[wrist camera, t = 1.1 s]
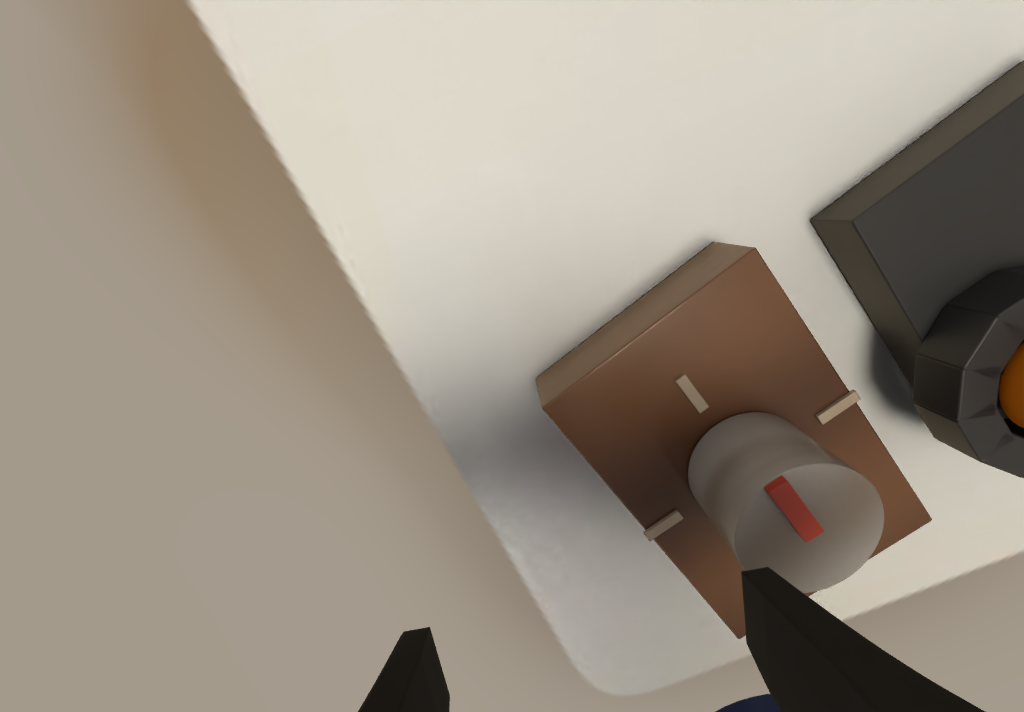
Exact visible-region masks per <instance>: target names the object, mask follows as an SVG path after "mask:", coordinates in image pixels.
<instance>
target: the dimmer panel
mask: <svg viewBox="0 0 1024 712" xmlns="http://www.w3.org/2000/svg"><path fill="white" fill-rule="evenodd" d="M536 382H537V387H538V391H539V396H540V400H541V404H542V409H543V410H544V411H545V412H546V414H547V415H548V416H549V417H550V418H551V419H552V421H553V422H554V423H555V424H556V425H557V426H558V428H559V429H560V430H561V431H562V432H563V434H564V435H565V436H566V437H567V438H568V439H569V441H570V442H571V443H572V444H573V445H574V446H575V448H576V449H577V450H578V451H579V452H580V454H581V455H582V456H583V457H584V458H585V459H586V461H587V462H588V463H589V464H590V465H591V466H592V468H593V469H594V470H595V471H596V472H597V473H598V475H599V476H600V477H601V478H602V479H603V481H604V482H605V483H606V484H607V485H608V486H609V488H610V489H611V490H612V491H613V492H614V493H615V495H616V496H617V497H618V498H619V499H620V501H621V502H622V503H623V504H624V505H625V506H626V508H627V509H628V510H629V511H630V512H631V513H632V515H633V516H634V517H635V518H636V519H637V520H638V522H639V523H640V524H641V525H642V526H643V528H644V529H645V531H644V532H643V533H644V535H645V536H646V537H647V538H648V540H649V541H651V540H653V539H654V540H655V542H656V543H657V544H658V545H659V546H660V548H661V549H662V550H663V551H664V552H665V553H666V555H667V556H668V557H669V558H670V559H671V560H672V562H673V563H674V564H675V565H676V566H677V567H678V569H679V570H680V571H681V572H682V573H683V575H684V576H685V577H686V578H687V579H688V580H689V582H690V583H691V584H692V585H693V586H694V587H695V589H696V590H697V591H698V592H699V593H700V595H701V596H702V597H703V598H704V599H705V600H706V602H707V603H708V604H709V605H710V606H711V607H712V609H713V610H714V611H715V612H716V613H717V614H718V616H719V617H720V618H721V619H722V620H723V622H724V623H725V624H726V625H727V626H728V627H729V629H730V630H731V631H732V632H733V633H734V634H735V636H736V637H737V638H738V639H741V638H742V637H744V636H745V635H746V628H745V615H744V602H743V589H742V576H741V572H742V571H744V569H743V568H742V566H741V565H740V563H739V562H738V560H737V559H736V558H735V556H734V555H733V553H732V552H731V550H730V549H729V547H728V546H727V544H726V543H725V542H724V540H723V539H722V537H721V536H720V534H719V533H718V531H717V530H716V528H715V527H714V526H713V524H712V523H711V521H710V520H709V518H708V517H707V515H706V514H705V512H704V511H703V510H702V508H701V507H700V505H699V504H698V502H697V501H696V499H695V498H694V496H693V494H692V492H691V489H690V486H689V481H688V468H689V462H690V459H691V455H692V453H693V451H694V449H695V447H696V445H697V444H698V442H699V441H700V440H701V438H702V437H703V436H704V435H705V434H706V433H707V432H708V431H709V430H710V429H711V428H713V427H714V426H715V425H717V424H718V423H720V422H722V421H723V420H725V419H728V418H730V417H733V416H735V415H739V414H743V413H751V412H763V413H769V414H773V415H777V416H779V417H781V418H783V419H785V420H787V421H788V422H790V423H791V424H793V425H794V426H796V427H797V428H798V429H800V430H801V431H803V432H804V433H805V434H807V435H808V436H809V437H811V438H812V439H814V440H815V441H816V442H818V443H819V444H821V445H822V446H823V447H825V448H826V449H827V450H829V451H830V452H832V453H833V454H834V455H836V456H837V457H839V458H840V459H841V460H843V461H844V462H846V463H847V464H848V465H850V466H851V467H852V468H854V469H855V470H857V471H858V472H859V473H861V474H862V475H864V476H865V477H866V478H867V479H868V480H869V481H870V482H871V483H872V484H873V486H874V487H875V488H876V490H877V492H878V494H879V495H880V498H881V501H882V504H883V509H884V525H883V531H882V534H881V538H880V540H879V542H878V545H877V546H876V548H875V550H874V552H873V553H872V555H871V556H870V557H869V559H870V558H872V557H873V556H875V555H877V554H878V553H880V552H881V551H883V550H885V549H886V548H888V547H889V546H891V545H893V544H894V543H896V542H898V541H899V540H901V539H902V538H904V537H906V536H907V535H909V534H910V533H912V532H914V531H915V530H917V529H919V528H920V527H922V526H923V525H925V524H927V523H928V522H930V521H931V520H932V518H931V517H930V515H929V514H928V512H927V511H926V509H925V508H924V506H923V504H922V503H921V501H920V500H919V498H918V497H917V495H916V494H915V492H914V491H913V489H912V488H911V486H910V484H909V483H908V481H907V480H906V478H905V477H904V475H903V474H902V472H901V471H900V469H899V468H898V466H897V465H896V463H895V461H894V460H893V458H892V457H891V455H890V454H889V452H888V451H887V449H886V448H885V446H884V445H883V443H882V441H881V440H880V438H879V437H878V435H877V434H876V432H875V431H874V429H873V428H872V426H871V425H870V423H869V421H868V420H867V418H866V417H865V415H864V414H863V412H862V411H861V409H860V408H859V406H858V405H857V403H856V402H857V401H859V400H860V397H859V395H858V394H857V392H856V391H854V390H851V391H850V392H849V391H848V389H847V388H846V386H845V385H844V383H843V381H842V380H841V378H840V377H839V375H838V374H837V372H836V371H835V369H834V368H833V366H832V365H831V363H830V361H829V360H828V358H827V357H826V355H825V354H824V352H823V351H822V349H821V348H820V346H819V345H818V343H817V342H816V340H815V338H814V337H813V335H812V334H811V332H810V331H809V329H808V328H807V326H806V325H805V323H804V322H803V320H802V318H801V317H800V315H799V314H798V312H797V311H796V309H795V308H794V306H793V305H792V303H791V302H790V300H789V298H788V297H787V295H786V294H785V292H784V291H783V289H782V288H781V286H780V285H779V283H778V282H777V280H776V278H775V277H774V275H773V274H772V272H771V271H770V269H769V268H768V266H767V265H766V263H765V262H764V260H763V258H762V257H761V255H760V254H759V252H758V251H757V249H756V248H754V247H747V246H739V245H732V244H725V243H718V242H713V243H712V244H711V245H709V246H708V247H707V248H705V249H704V250H703V251H701V252H700V253H699V254H697V255H696V256H695V257H694V258H692V259H691V260H690V261H688V262H687V263H686V264H684V265H683V266H682V267H680V268H679V269H678V270H677V271H675V272H674V273H673V274H671V275H670V276H669V277H667V278H666V279H665V280H664V281H662V282H661V283H660V284H658V285H657V286H656V287H654V288H653V289H652V290H650V291H649V292H648V293H647V294H645V295H644V296H643V297H641V298H640V299H639V300H637V301H636V302H635V303H634V304H632V305H631V306H630V307H628V308H627V309H626V310H624V311H623V312H622V313H620V314H619V315H618V316H617V317H615V318H614V319H613V320H611V321H610V322H609V323H607V324H606V325H605V326H603V327H602V328H601V329H600V330H598V331H597V332H596V333H594V334H593V335H592V336H590V337H589V338H588V339H587V340H585V341H584V342H583V343H581V344H580V345H579V346H577V347H576V348H575V349H573V350H572V351H571V352H570V353H568V354H567V355H566V356H564V357H563V358H562V359H560V360H559V361H558V362H557V363H555V364H554V365H553V366H551V367H550V368H549V369H547V370H546V371H545V372H543V373H542V374H541V375H540V376H538V377H537V378H536ZM815 592H817V591H815ZM815 592H810V593H804V594H805V595H806V596H808V597H809V596H810V595H812V594H813V593H815Z"/></svg>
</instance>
